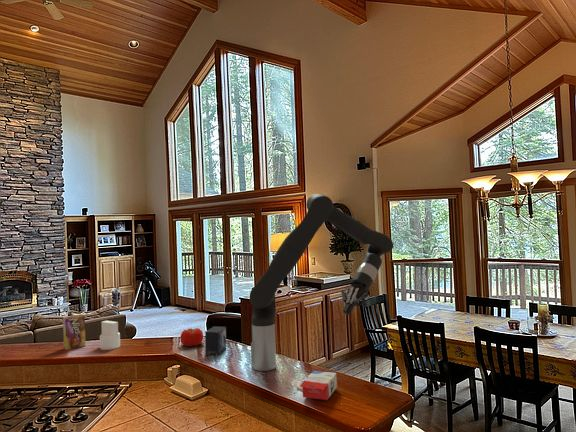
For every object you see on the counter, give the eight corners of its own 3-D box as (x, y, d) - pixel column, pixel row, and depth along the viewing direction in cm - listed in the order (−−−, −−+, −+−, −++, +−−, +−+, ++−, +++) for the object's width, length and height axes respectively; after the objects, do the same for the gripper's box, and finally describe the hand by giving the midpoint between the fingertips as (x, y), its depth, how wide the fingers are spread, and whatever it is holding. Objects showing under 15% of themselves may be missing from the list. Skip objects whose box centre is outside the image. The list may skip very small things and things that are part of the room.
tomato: (204, 341, 209) (204, 326, 209) (201, 347, 198) (201, 331, 198) (182, 342, 209) (182, 327, 209) (178, 348, 198) (177, 332, 198)
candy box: (83, 344, 210) (82, 313, 210) (85, 346, 207) (85, 314, 207) (63, 348, 204) (62, 316, 204) (65, 350, 201) (65, 317, 201)
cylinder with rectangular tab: (95, 348, 203) (95, 323, 203) (112, 343, 210) (111, 319, 211) (107, 350, 198) (107, 324, 198) (124, 345, 206) (123, 320, 206)
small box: (218, 356, 185) (218, 332, 185) (204, 355, 186) (204, 331, 186) (227, 349, 195) (226, 326, 195) (213, 348, 196) (213, 325, 196)
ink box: (313, 384, 147) (298, 401, 133) (313, 370, 147) (298, 385, 133) (337, 387, 144) (324, 404, 130) (337, 372, 144) (324, 388, 130)
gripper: (346, 269, 169) (327, 305, 160) (374, 272, 159) (355, 309, 151) (355, 281, 172) (336, 317, 164) (382, 284, 163) (364, 322, 154)
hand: (345, 313), depth 157 cm, fingers closed
